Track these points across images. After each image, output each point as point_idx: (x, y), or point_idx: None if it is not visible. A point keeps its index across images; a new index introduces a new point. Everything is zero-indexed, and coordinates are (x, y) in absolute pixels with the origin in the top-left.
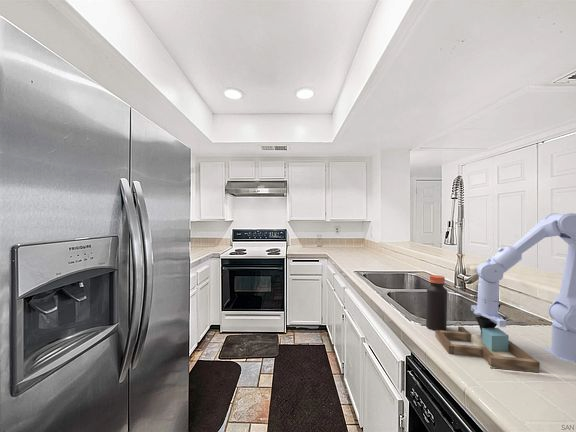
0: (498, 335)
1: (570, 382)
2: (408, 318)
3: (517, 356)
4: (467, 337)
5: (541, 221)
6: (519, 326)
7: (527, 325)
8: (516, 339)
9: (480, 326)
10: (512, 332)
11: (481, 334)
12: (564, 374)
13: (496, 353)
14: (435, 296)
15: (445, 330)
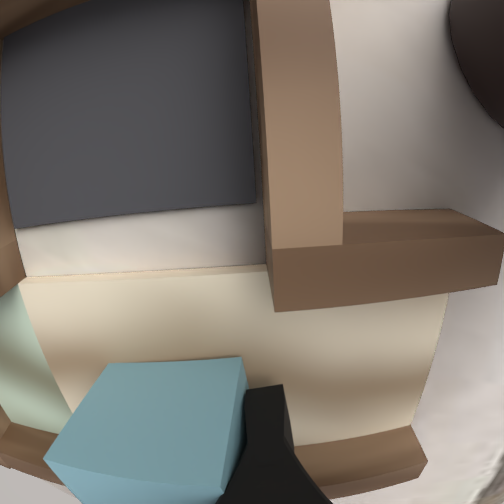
0: (82, 500)
1: None
2: None
3: None
4: (268, 247)
5: None
6: (477, 489)
7: (475, 499)
8: (374, 494)
9: (283, 488)
10: (442, 483)
11: (275, 413)
12: (64, 486)
13: (80, 373)
14: None
15: (488, 103)
